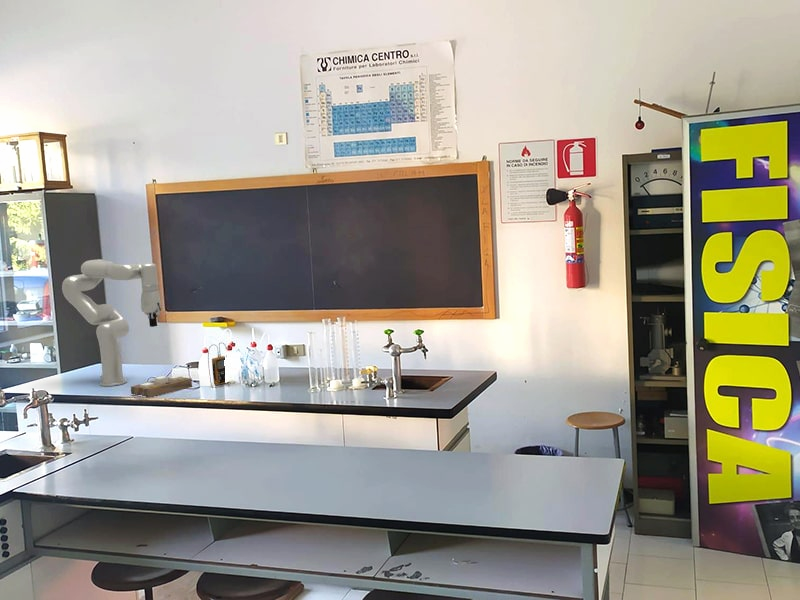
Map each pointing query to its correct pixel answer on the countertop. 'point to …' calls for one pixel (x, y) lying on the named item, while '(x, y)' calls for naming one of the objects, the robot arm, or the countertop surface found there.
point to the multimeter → (218, 369)
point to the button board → (162, 387)
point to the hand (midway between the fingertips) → (153, 326)
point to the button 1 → (147, 385)
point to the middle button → (161, 380)
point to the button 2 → (175, 377)
